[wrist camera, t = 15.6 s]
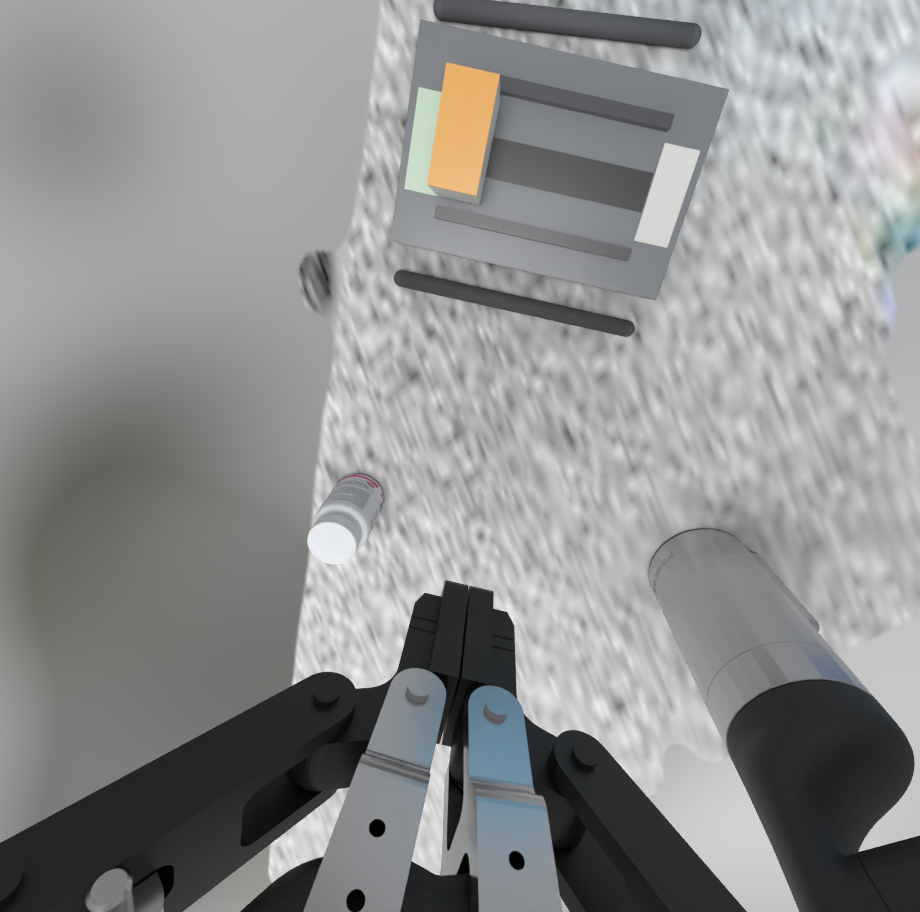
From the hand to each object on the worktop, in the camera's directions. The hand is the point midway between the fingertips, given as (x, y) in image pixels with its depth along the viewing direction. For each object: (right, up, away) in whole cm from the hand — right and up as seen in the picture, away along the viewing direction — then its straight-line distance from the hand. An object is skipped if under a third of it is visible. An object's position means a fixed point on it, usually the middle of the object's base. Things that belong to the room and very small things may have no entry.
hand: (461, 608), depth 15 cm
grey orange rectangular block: (0, +25, +18) cm, 31 cm away
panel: (+6, +25, +20) cm, 33 cm away
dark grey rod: (+4, +17, +24) cm, 29 cm away
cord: (+7, +33, +17) cm, 37 cm away
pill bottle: (-10, +1, +31) cm, 33 cm away
